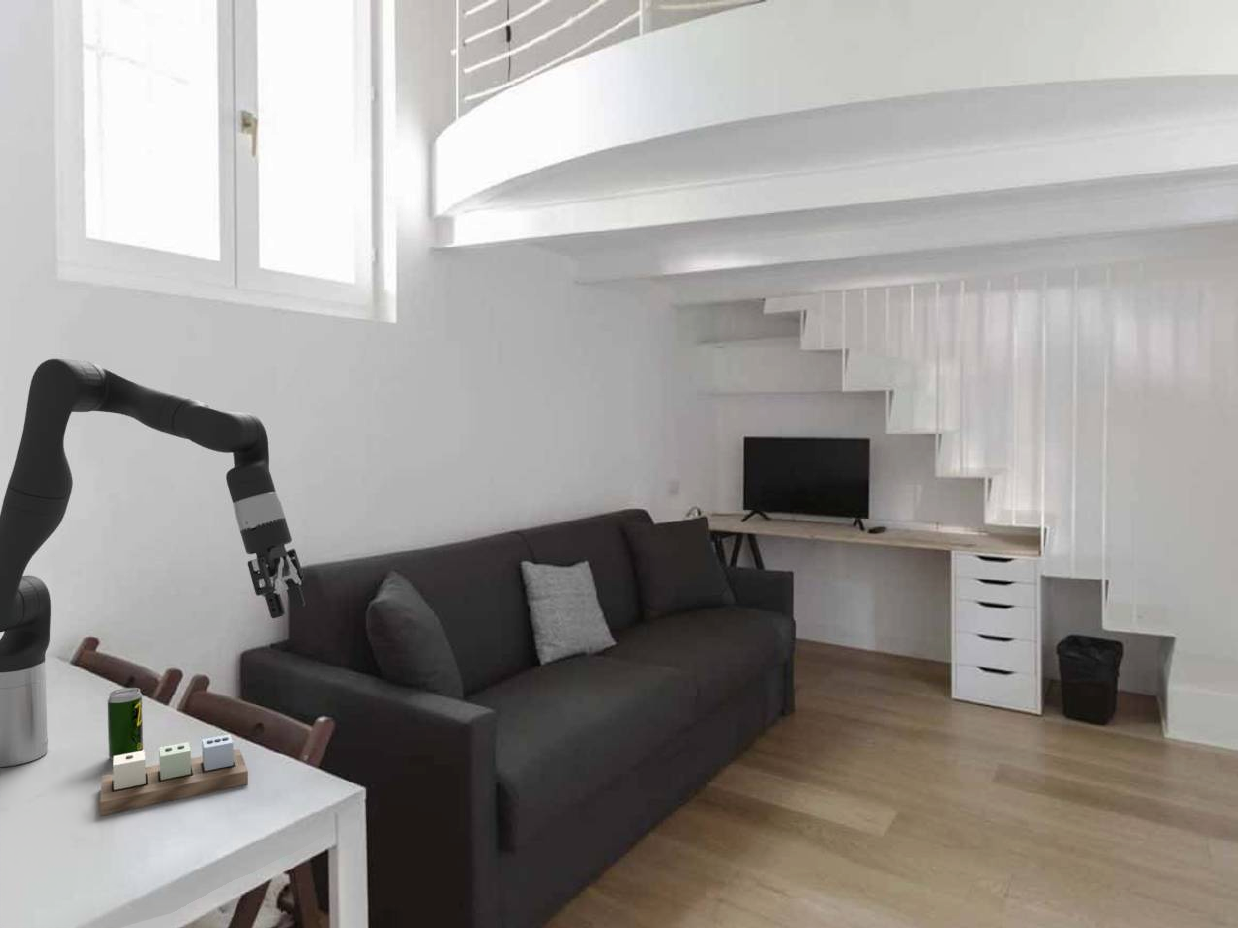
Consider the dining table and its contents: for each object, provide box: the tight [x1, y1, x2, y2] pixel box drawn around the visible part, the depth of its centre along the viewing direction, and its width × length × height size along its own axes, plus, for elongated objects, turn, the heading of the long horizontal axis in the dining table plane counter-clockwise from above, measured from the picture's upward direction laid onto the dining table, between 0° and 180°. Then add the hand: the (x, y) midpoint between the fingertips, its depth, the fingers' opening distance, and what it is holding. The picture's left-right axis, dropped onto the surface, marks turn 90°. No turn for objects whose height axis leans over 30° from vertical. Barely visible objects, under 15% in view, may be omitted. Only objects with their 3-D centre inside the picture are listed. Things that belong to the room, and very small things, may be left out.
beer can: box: [107, 687, 144, 762], centre depth 144 cm, size 5×5×12 cm
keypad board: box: [99, 748, 249, 817], centre depth 132 cm, size 21×11×2 cm, turn 123°
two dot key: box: [158, 741, 192, 780], centre depth 132 cm, size 4×4×4 cm
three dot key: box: [201, 734, 234, 771], centre depth 135 cm, size 4×4×4 cm
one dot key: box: [112, 749, 147, 790], centre depth 128 cm, size 4×4×4 cm
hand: (289, 611), depth 135 cm, fingers open, 8 cm apart
